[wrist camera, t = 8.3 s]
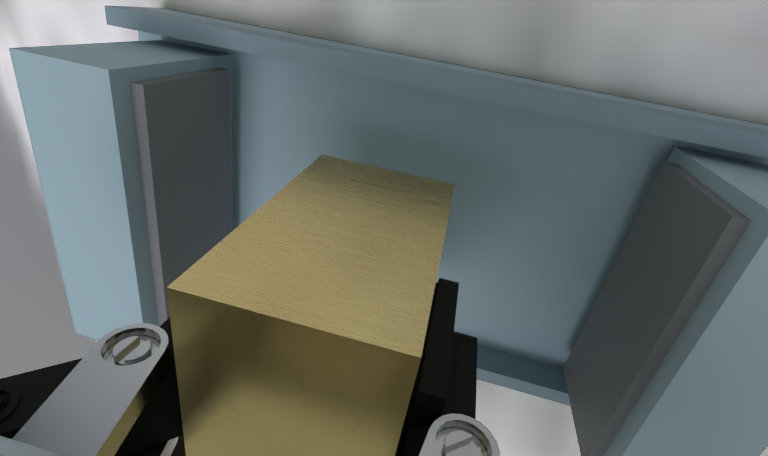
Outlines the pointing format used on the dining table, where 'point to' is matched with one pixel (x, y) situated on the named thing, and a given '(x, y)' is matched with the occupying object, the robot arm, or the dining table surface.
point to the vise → (350, 142)
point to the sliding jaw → (681, 321)
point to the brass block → (311, 316)
